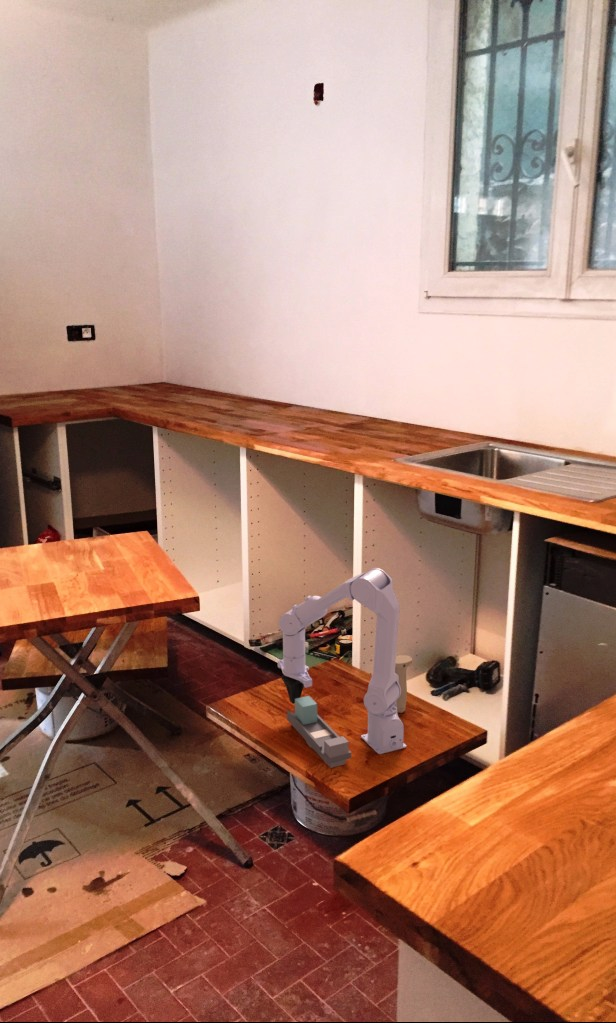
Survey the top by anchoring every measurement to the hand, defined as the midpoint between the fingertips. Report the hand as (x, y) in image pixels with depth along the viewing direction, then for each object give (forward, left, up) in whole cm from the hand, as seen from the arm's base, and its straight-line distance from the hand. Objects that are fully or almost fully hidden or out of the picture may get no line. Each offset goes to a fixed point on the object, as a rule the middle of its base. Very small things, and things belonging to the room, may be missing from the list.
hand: (294, 701), depth 224 cm
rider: (-7, 0, -2) cm, 7 cm away
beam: (-14, 0, -5) cm, 15 cm away
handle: (-8, -27, -5) cm, 29 cm away
